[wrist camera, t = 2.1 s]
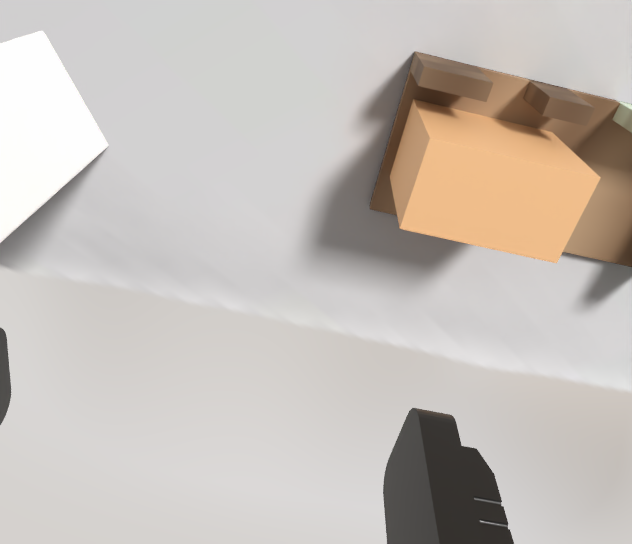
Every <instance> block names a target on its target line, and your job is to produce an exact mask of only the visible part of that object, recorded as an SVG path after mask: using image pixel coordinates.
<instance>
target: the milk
mask: <svg viewBox="0 0 632 544" xmlns="http://www.w3.org/2000/svg"><path fill="white" fill-rule="evenodd" d="M107 147H108V143H107V141H106V139H105V138H104V136H103V134H102V132H101V131H100V129H99V127H98V125H97V124H96V122H95V120H94V118H93V117H92V115H91V113H90V111H89V110H88V108H87V106H86V104H85V103H84V101H83V99H82V97H81V96H80V94H79V92H78V90H77V89H76V87H75V85H74V83H73V82H72V80H71V78H70V76H69V75H68V73H67V71H66V69H65V68H64V66H63V64H62V62H61V61H60V59H59V57H58V55H57V54H56V52H55V50H54V48H53V47H52V45H51V43H50V41H49V40H48V38H47V36H46V35H45V33H44V32H43V31H38V32H35V33H32V34H29V35H25V36H22V37H19V38H16V39H12V40H9V41H6V42H3V43H0V243H1V242H2V241H3V240H4V239H5V238H6V237H8V236H9V235H10V234H11V233H12V232H13V231H14V230H15V229H17V228H18V227H19V226H20V225H21V224H22V223H23V222H24V221H25V220H27V219H28V218H29V217H30V216H31V215H32V214H33V213H34V212H36V211H37V210H38V209H39V208H40V207H41V206H42V205H43V204H44V203H46V202H47V201H48V200H49V199H50V198H51V197H52V196H53V195H55V194H56V193H57V192H58V191H59V190H60V189H61V188H62V187H64V186H65V185H66V184H67V183H68V182H69V181H70V180H71V179H72V178H74V177H75V176H76V175H77V174H78V173H79V172H80V171H81V170H83V169H84V168H85V167H86V166H87V165H88V164H89V163H90V162H91V161H93V160H94V159H95V158H96V157H97V156H98V155H99V154H100V153H102V152H103V151H104V150H105V149H106V148H107Z"/></svg>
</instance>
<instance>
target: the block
mask: <svg viewBox="0 0 632 544" xmlns="http://www.w3.org/2000/svg"><path fill="white" fill-rule="evenodd" d="M600 178H601V177H600V176H598V175H597V174H596V173H595V172H594V171H593V170H592V169H591V168H590V167H589V166H588V165H587V164H586V163H585V162H583V161H582V160H581V159H580V158H579V157H578V156H577V155H576V154H575V153H574V152H573V151H572V150H571V149H570V148H569V147H567V146H566V145H565V144H564V143H563V142H562V141H561V140H560V139H559V138H558V137H557V136H556V135H555V134H554V133H553V132H549V131H545V130H541V129H537V128H533V127H528V126H524V125H520V124H516V123H512V122H507V121H503V120H499V119H495V118H490V117H486V116H482V115H478V114H474V113H469V112H465V111H461V110H457V109H453V108H448V107H444V106H440V105H436V104H431V103H427V102H423V101H419V100H415V99H413V102H412V105H411V108H410V112H409V115H408V118H407V121H406V125H405V128H404V131H403V134H402V138H401V141H400V144H399V147H398V151H397V154H396V157H395V161H394V164H393V167H392V170H391V174H390V181H391V186H392V191H393V197H394V202H395V207H396V212H397V217H398V222H399V228H400V229H403V230H407V231H412V232H416V233H421V234H425V235H430V236H435V237H439V238H444V239H448V240H453V241H457V242H462V243H467V244H471V245H476V246H480V247H485V248H489V249H494V250H499V251H503V252H508V253H512V254H517V255H521V256H526V257H531V258H535V259H540V260H544V261H549V262H553V263H557V262H558V260H559V258H560V256H561V254H562V252H563V250H564V248H565V246H566V244H567V242H568V240H569V239H570V237H571V235H572V233H573V231H574V229H575V227H576V225H577V223H578V221H579V219H580V217H581V215H582V213H583V211H584V209H585V207H586V206H587V204H588V202H589V200H590V198H591V196H592V194H593V192H594V190H595V188H596V186H597V184H598V182H599V180H600Z"/></svg>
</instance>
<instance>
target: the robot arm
mask: <svg viewBox="0 0 632 544" xmlns="http://www.w3.org/2000/svg"><path fill="white" fill-rule="evenodd" d="M7 350H8V349H7V338H6V334H5V331H4V330H3V329H2V328H0V425H1V423H2V421H3V419H4V417H5V415H6V412H7V409H8V407H9V403H10V397H11V384H10V372H9V361H8V351H7ZM383 494H384V507H385V520H386V533H387V544H514V542H513V539H512V535H511V532H510V530H509V529H508V522H507V518H506V515H505V511H504V507H502V506H501V502H502V501H501V497H500V494H499V490H498V486H497V483H496V479H495V476H494V473H493V472H492V470H491V469H490V468H489V466H488V465H487V463H486V462H485V460H484V459H483V457H482V456H481V455H480V453H479V452H478V450H477V449H475V448H470V447H464V446H461V442H460V438H459V433H458V429H457V425H456V421H455V419H454V417H453V416H452V415H448V414H443V413H437V412H433V411H427V410H422V409H417V408H412V409H411V410H410V411H409V413H408V415H407V417H406V420H405V422H404V424H403V427H402V429H401V432H400V434H399V436H398V439H397V441H396V443H395V446H394V448H393V451H392V453H391V455H390V458H389V460H388V463H387V467H386V471H385V477H384V489H383Z"/></svg>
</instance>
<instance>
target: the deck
mask: <svg viewBox="0 0 632 544" xmlns="http://www.w3.org/2000/svg"><path fill="white" fill-rule="evenodd" d="M413 99H415V100H419V101H423V102H427V103H431V104H436V105H440V106H444V107H448V108H453V109H457V110H461V111H465V112H469V113H474V114H478V115H482V116H486V117H490V118H495V119H499V120H503V121H507V122H512V123H516V124H520V125H524V126H528V127H533V128H537V129H541V130H545V131H549V132H553V133H554V134H555V135H556V136H557V137H558V138H559V139H560V140H561V141H562V142H563V143H564V144H565V145H566V146H567V147H569V148H570V149H571V150H572V151H573V152H574V153H575V154H576V155H577V156H578V157H579V158H580V159H581V160H582V161H583V162H585V163H586V164H587V165H588V166H589V167H590V168H591V169H592V170H593V171H594V172H595V173H596V174H597V175H598V176H600V177H601V178H600V180H599V182H598V184H597V186H596V188H595V190H594V192H593V194H592V196H591V198H590V200H589V202H588V204H587V206H586V207H585V209H584V211H583V213H582V215H581V217H580V219H579V221H578V223H577V225H576V227H575V229H574V231H573V233H572V235H571V237H570V239H569V240H568V242H567V244H566V246H565V248H564V250H563V252H566V253H571V254H575V255H580V256H584V257H589V258H593V259H598V260H602V261H607V262H612V263H616V264H621V265H625V266H630V267H632V104H628V103H624V102H620V101H616V100H612V99H608V98H604V97H600V96H595V95H591V94H587V93H583V92H579V91H575V90H571V89H567V88H563V87H559V86H554V85H550V84H546V83H542V82H538V81H534V80H530V79H526V78H522V77H518V76H513V75H509V74H505V73H501V72H497V71H493V70H489V69H485V68H481V67H477V66H472V65H468V64H464V63H460V62H456V61H452V60H448V59H444V58H440V57H436V56H431V55H427V54H423V53H419V52H414V56H413V59H412V63H411V66H410V69H409V73H408V76H407V80H406V83H405V86H404V90H403V93H402V97H401V100H400V103H399V107H398V110H397V114H396V117H395V120H394V124H393V127H392V131H391V134H390V137H389V141H388V144H387V148H386V151H385V154H384V158H383V161H382V165H381V168H380V171H379V175H378V178H377V182H376V185H375V188H374V192H373V195H372V199H371V202H370V209H371V210H376V211H380V212H385V213H389V214H394V215H397V212H396V207H395V202H394V197H393V191H392V186H391V181H390V174H391V170H392V167H393V164H394V161H395V157H396V154H397V151H398V147H399V144H400V141H401V138H402V134H403V131H404V128H405V125H406V121H407V118H408V115H409V112H410V108H411V105H412V102H413Z"/></svg>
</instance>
